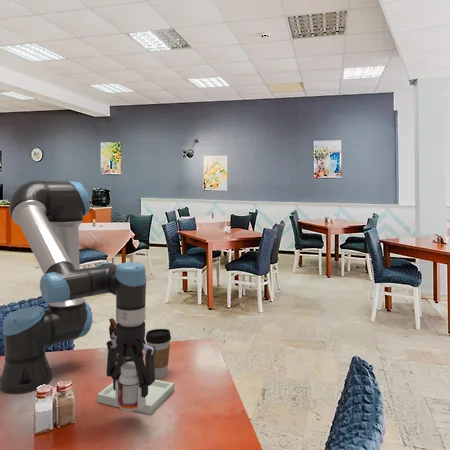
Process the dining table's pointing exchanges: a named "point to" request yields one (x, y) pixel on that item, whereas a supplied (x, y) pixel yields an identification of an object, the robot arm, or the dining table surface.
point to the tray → (153, 400)
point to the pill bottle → (128, 387)
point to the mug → (113, 335)
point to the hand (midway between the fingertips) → (130, 404)
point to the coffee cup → (160, 350)
